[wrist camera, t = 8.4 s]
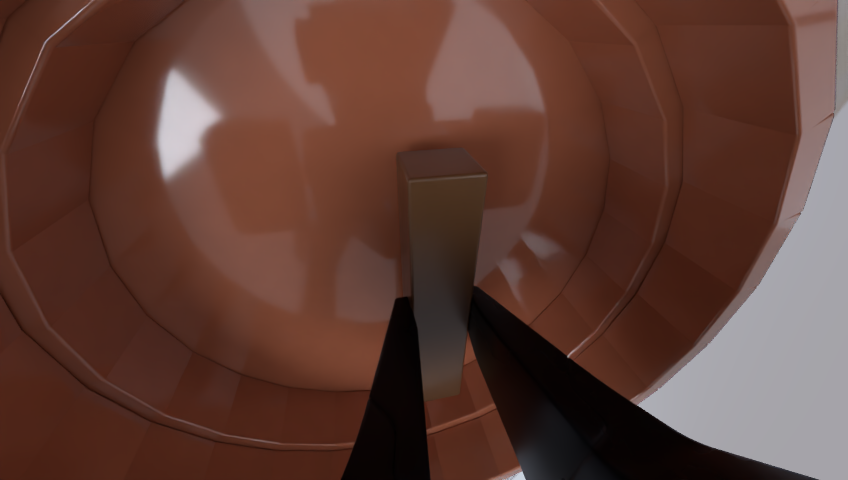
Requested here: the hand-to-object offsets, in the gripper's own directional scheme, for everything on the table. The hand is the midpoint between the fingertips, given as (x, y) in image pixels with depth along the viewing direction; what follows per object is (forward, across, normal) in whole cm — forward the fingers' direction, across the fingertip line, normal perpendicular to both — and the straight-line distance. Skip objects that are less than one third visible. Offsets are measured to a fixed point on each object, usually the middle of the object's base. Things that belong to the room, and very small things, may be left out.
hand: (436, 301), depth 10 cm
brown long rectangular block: (+1, 0, 0) cm, 1 cm away
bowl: (+2, +1, -1) cm, 2 cm away
